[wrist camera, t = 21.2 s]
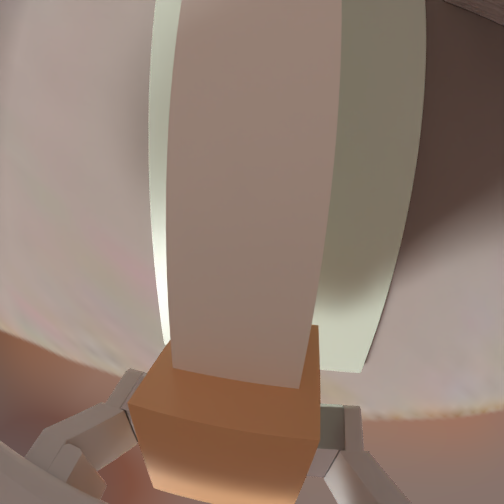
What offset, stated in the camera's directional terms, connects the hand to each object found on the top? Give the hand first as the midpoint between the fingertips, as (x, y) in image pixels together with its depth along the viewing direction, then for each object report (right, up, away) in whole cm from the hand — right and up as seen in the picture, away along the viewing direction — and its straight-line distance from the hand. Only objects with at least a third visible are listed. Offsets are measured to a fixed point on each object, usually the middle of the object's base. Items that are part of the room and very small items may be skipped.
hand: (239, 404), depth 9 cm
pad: (+1, +8, +2) cm, 9 cm away
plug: (+1, +7, -1) cm, 7 cm away
